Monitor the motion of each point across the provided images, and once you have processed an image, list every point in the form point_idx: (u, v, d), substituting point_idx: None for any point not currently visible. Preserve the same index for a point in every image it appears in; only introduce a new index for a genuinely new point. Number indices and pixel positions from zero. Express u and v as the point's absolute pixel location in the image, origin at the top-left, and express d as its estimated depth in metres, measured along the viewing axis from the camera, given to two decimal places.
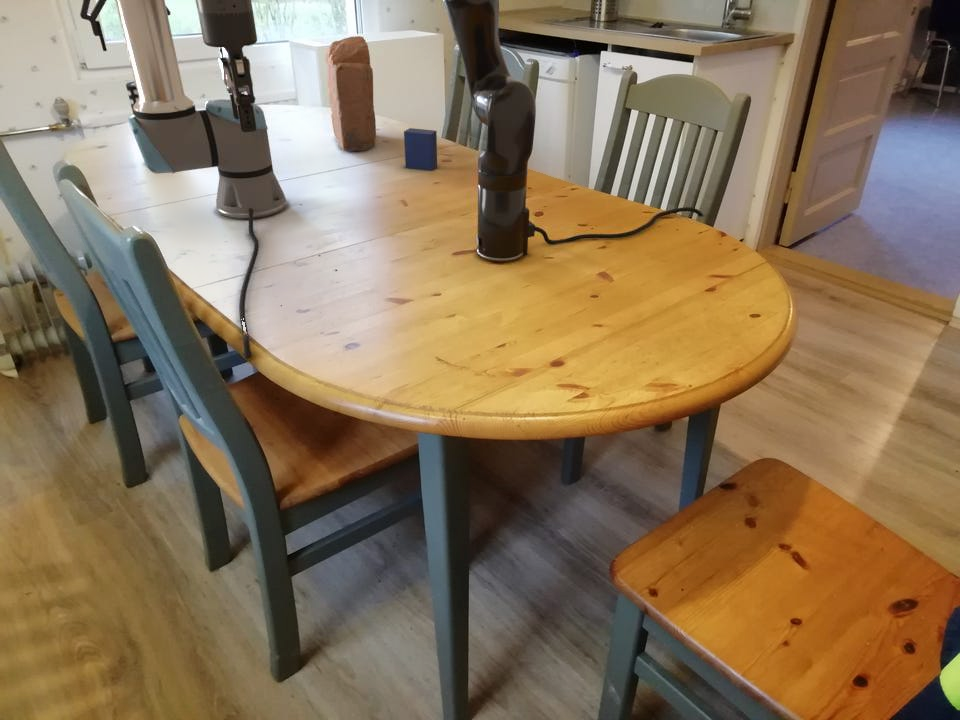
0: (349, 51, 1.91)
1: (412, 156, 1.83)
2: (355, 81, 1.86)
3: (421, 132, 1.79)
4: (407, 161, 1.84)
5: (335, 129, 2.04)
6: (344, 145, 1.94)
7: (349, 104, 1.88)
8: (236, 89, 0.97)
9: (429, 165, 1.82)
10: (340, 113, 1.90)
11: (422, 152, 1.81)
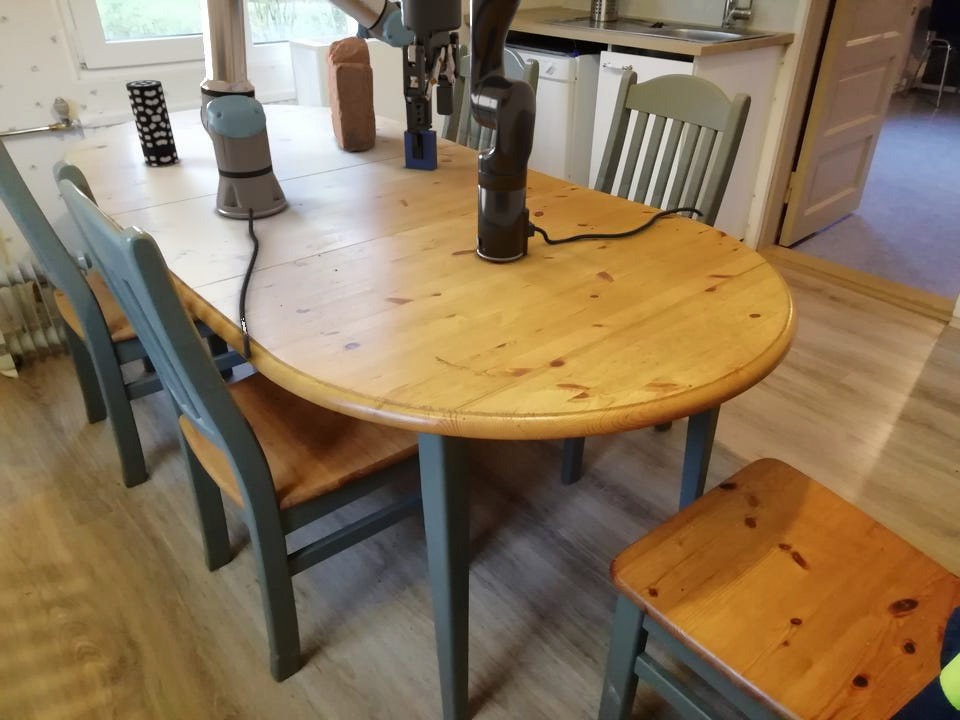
0: (349, 51, 1.91)
1: None
2: (355, 81, 1.86)
3: (421, 132, 1.79)
4: (407, 161, 1.84)
5: (335, 129, 2.04)
6: (344, 145, 1.94)
7: (349, 104, 1.88)
8: (458, 61, 0.95)
9: (429, 165, 1.82)
10: (340, 113, 1.90)
11: None
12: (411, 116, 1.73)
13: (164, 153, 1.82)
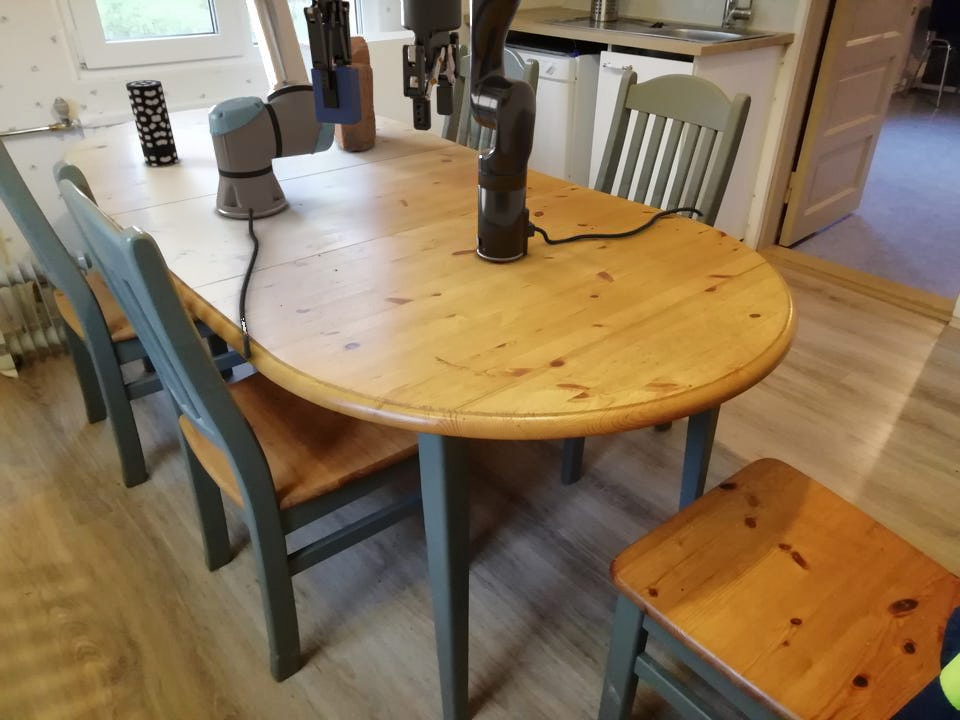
0: None
1: None
2: None
3: (335, 69, 1.25)
4: (318, 112, 1.30)
5: (335, 129, 2.04)
6: (344, 145, 1.94)
7: None
8: (458, 61, 0.95)
9: (349, 118, 1.29)
10: None
11: (338, 99, 1.27)
12: (315, 42, 1.19)
13: (164, 153, 1.82)
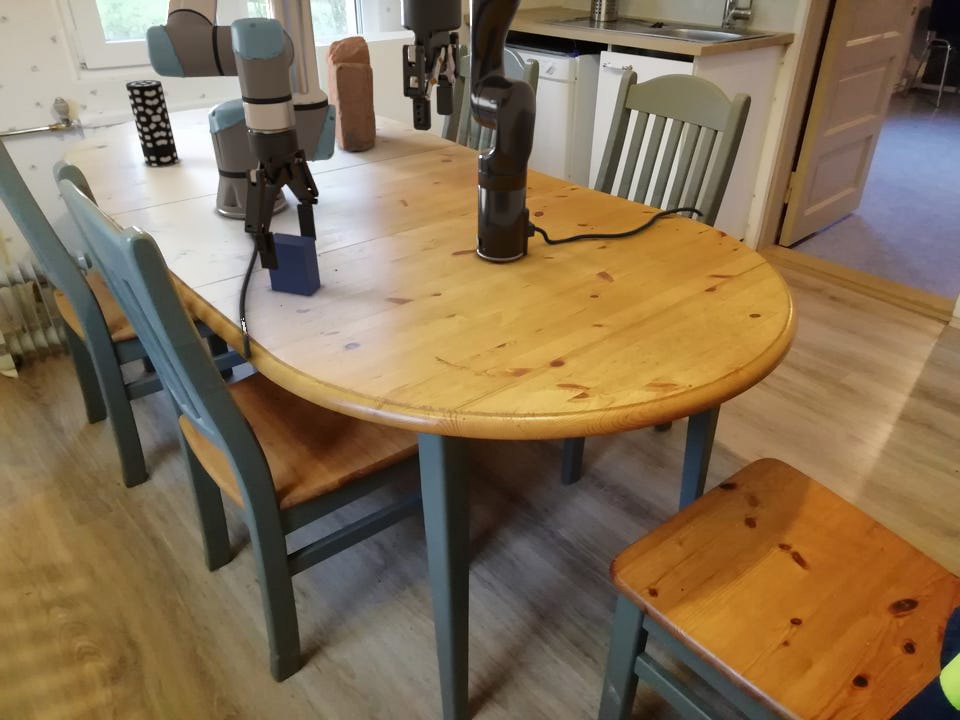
0: (349, 51, 1.91)
1: (280, 275, 1.21)
2: (355, 81, 1.86)
3: (290, 242, 1.18)
4: (273, 281, 1.22)
5: None
6: (344, 145, 1.94)
7: (349, 104, 1.88)
8: (458, 61, 0.95)
9: (305, 289, 1.21)
10: (340, 113, 1.90)
11: (293, 271, 1.20)
12: (253, 205, 1.08)
13: (164, 153, 1.82)
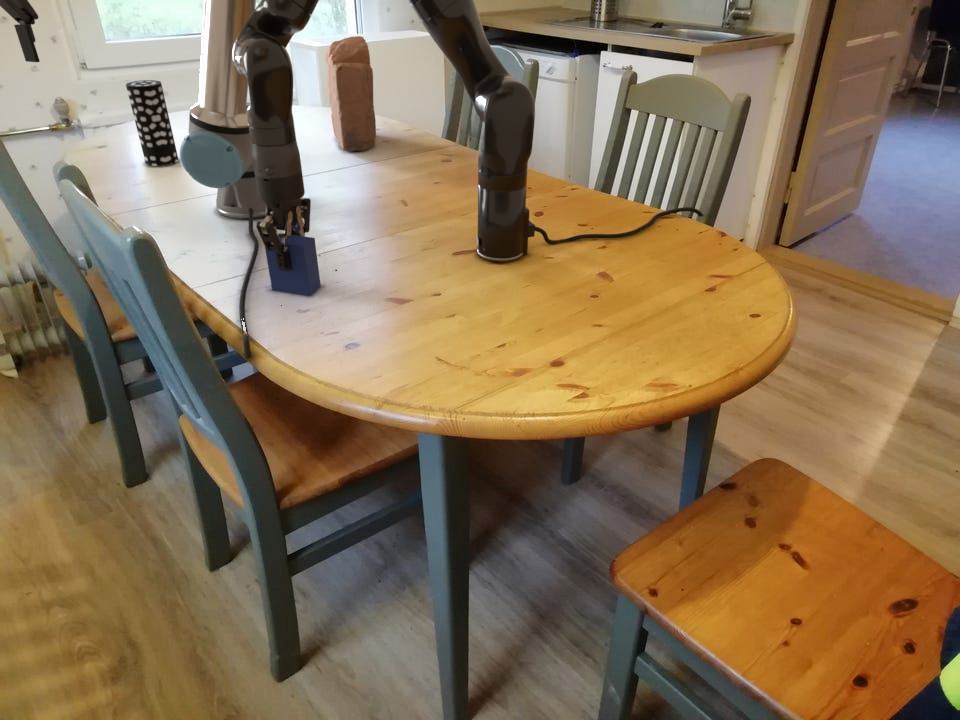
0: (349, 51, 1.91)
1: (280, 275, 1.21)
2: (355, 81, 1.86)
3: (290, 242, 1.18)
4: (273, 281, 1.22)
5: (335, 129, 2.04)
6: (344, 145, 1.94)
7: (349, 104, 1.88)
8: (309, 220, 1.23)
9: (305, 289, 1.21)
10: (340, 113, 1.90)
11: (293, 271, 1.20)
12: None
13: (164, 153, 1.82)
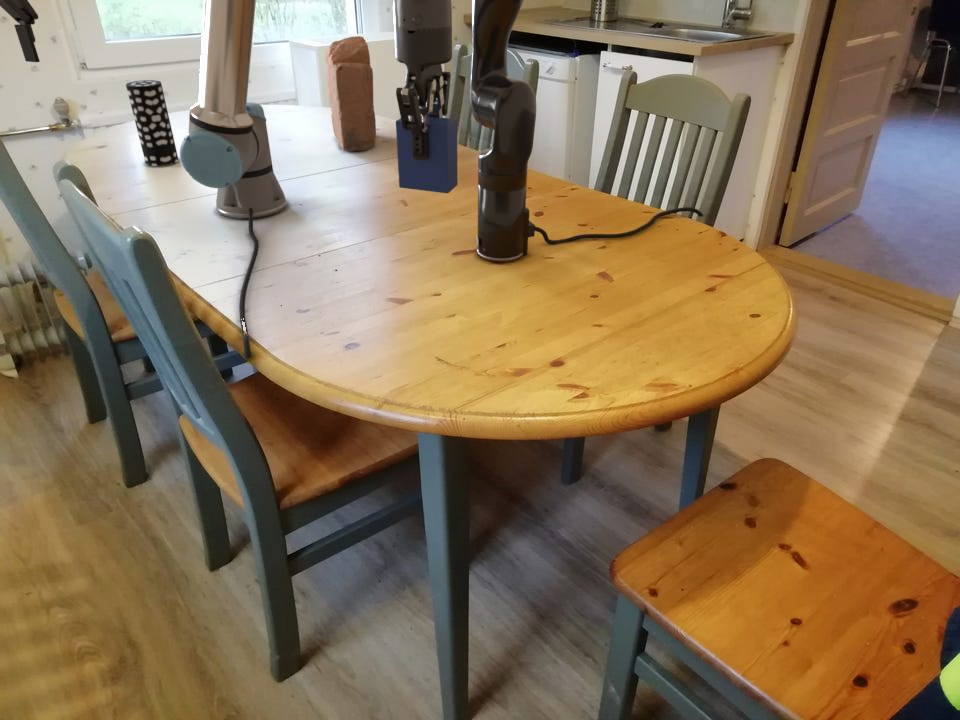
0: (349, 51, 1.91)
1: (412, 167, 0.98)
2: (355, 81, 1.86)
3: (428, 122, 0.95)
4: (402, 176, 0.99)
5: (335, 129, 2.04)
6: (344, 145, 1.94)
7: (349, 104, 1.88)
8: None
9: (443, 184, 0.98)
10: (340, 113, 1.90)
11: (430, 160, 0.97)
12: None
13: (164, 153, 1.82)
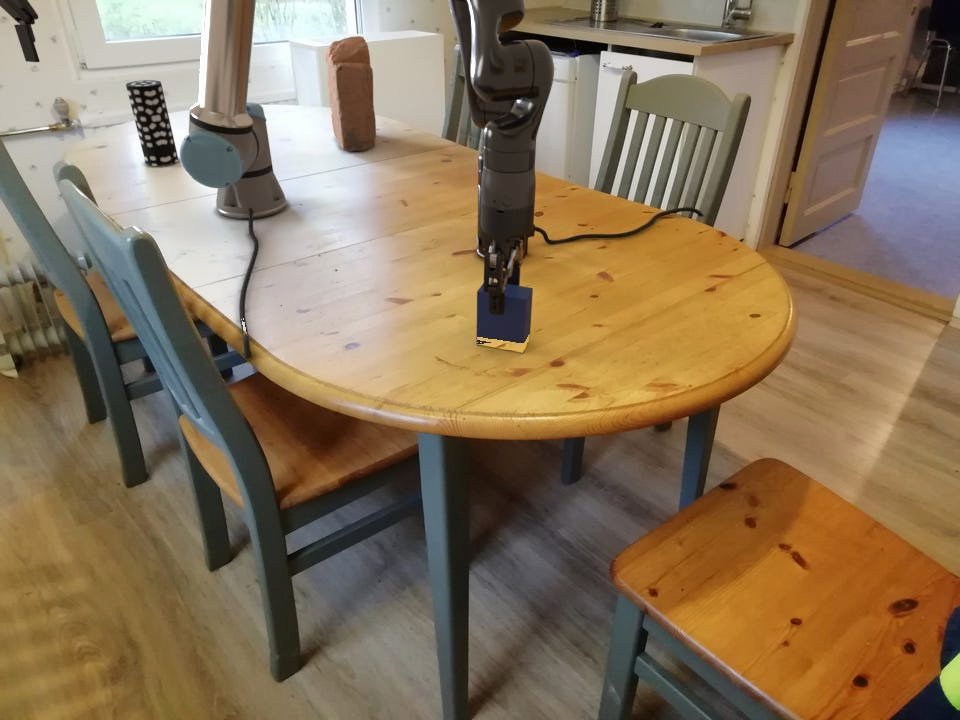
0: (349, 51, 1.91)
1: (490, 329, 1.06)
2: (355, 81, 1.86)
3: (508, 293, 1.03)
4: (480, 336, 1.07)
5: (335, 129, 2.04)
6: (344, 145, 1.94)
7: (349, 104, 1.88)
8: None
9: None
10: (340, 113, 1.90)
11: (507, 325, 1.05)
12: None
13: (164, 153, 1.82)
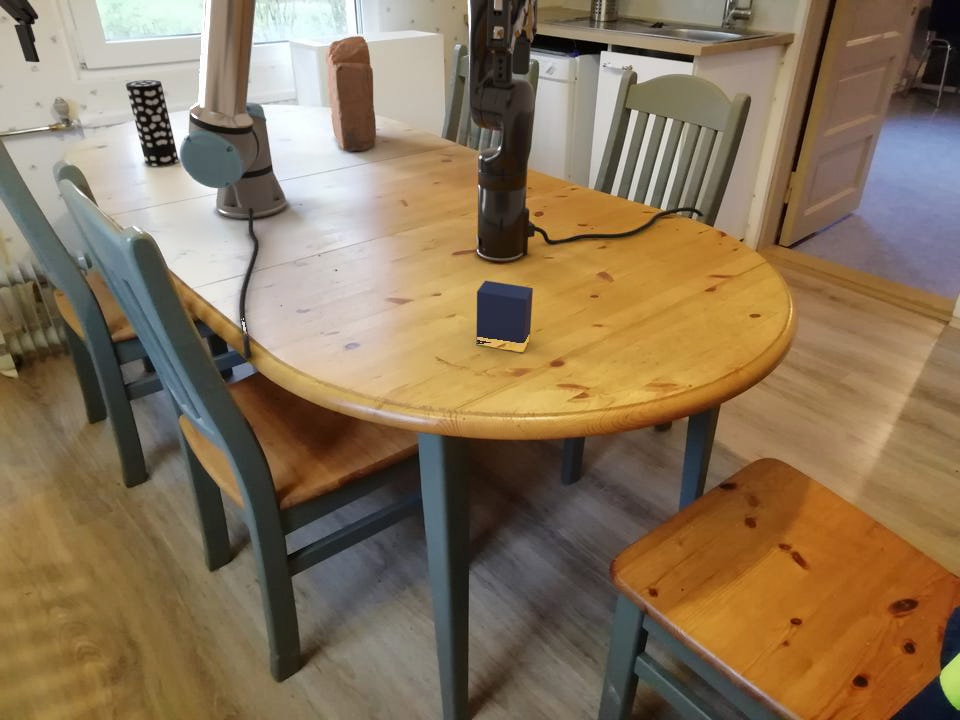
0: (349, 51, 1.91)
1: (490, 329, 1.06)
2: (355, 81, 1.86)
3: (508, 293, 1.03)
4: (480, 336, 1.07)
5: (335, 129, 2.04)
6: (344, 145, 1.94)
7: (349, 104, 1.88)
8: None
9: None
10: (340, 113, 1.90)
11: (507, 325, 1.05)
12: None
13: (164, 153, 1.82)
